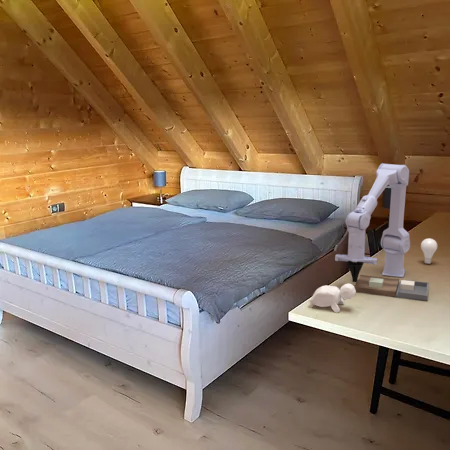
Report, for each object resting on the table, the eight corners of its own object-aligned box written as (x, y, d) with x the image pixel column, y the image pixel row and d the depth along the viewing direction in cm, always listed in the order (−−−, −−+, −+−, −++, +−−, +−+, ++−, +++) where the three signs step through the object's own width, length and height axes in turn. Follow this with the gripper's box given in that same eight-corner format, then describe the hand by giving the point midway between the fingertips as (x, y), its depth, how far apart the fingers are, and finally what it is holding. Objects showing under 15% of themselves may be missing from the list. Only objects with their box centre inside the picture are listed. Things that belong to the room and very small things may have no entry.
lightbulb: (426, 266, 197) (428, 241, 194) (416, 262, 203) (418, 237, 200) (439, 265, 198) (441, 239, 196) (429, 261, 204) (431, 236, 202)
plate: (360, 279, 183) (360, 274, 183) (398, 284, 178) (399, 279, 177) (354, 292, 171) (354, 286, 170) (395, 297, 165) (395, 291, 165)
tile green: (370, 282, 174) (370, 277, 174) (383, 284, 172) (383, 279, 172) (368, 286, 170) (369, 281, 170) (381, 288, 168) (382, 283, 168)
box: (399, 284, 177) (399, 279, 177) (428, 287, 173) (428, 282, 173) (395, 297, 165) (396, 291, 165) (427, 301, 161) (427, 295, 161)
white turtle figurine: (313, 318, 157) (357, 308, 150) (304, 294, 157) (348, 283, 150) (320, 308, 165) (362, 299, 158) (311, 286, 164) (353, 275, 157)
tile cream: (401, 285, 175) (401, 279, 175) (414, 286, 174) (414, 281, 173) (400, 289, 171) (400, 283, 171) (413, 290, 170) (413, 285, 169)
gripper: (333, 246, 170) (332, 282, 173) (376, 250, 164) (374, 287, 167) (337, 241, 177) (336, 276, 180) (378, 244, 171) (376, 280, 174)
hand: (354, 281), depth 174 cm, fingers closed
